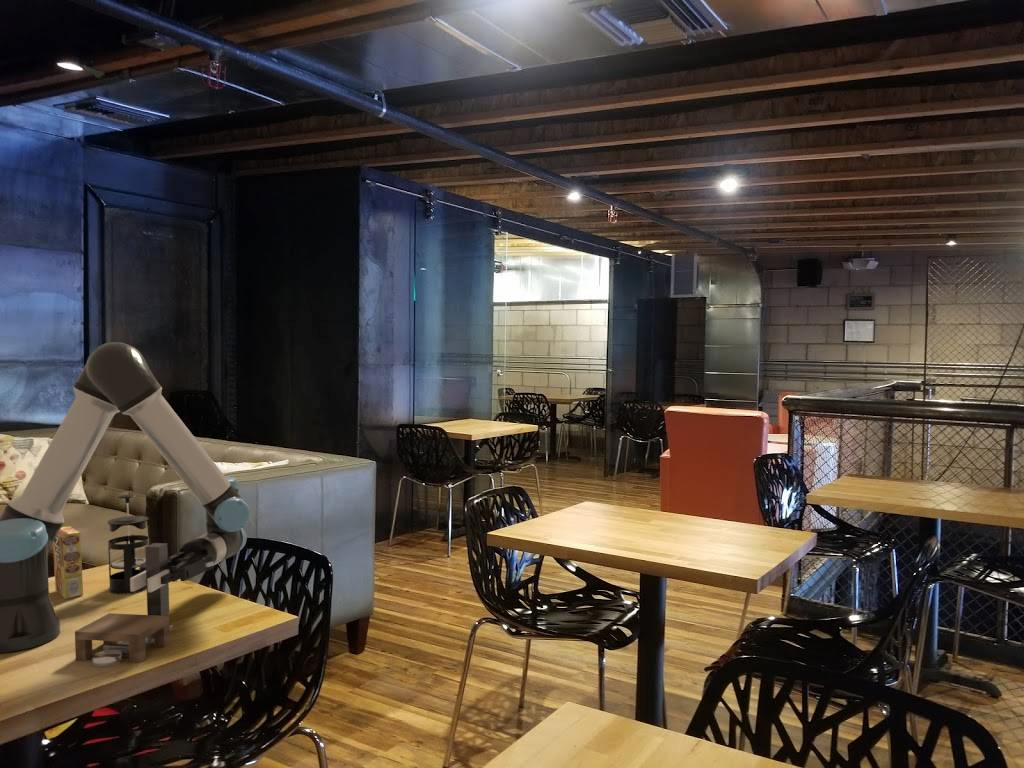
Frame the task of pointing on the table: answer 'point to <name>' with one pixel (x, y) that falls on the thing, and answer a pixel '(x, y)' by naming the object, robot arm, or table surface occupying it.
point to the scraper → (155, 599)
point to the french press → (126, 551)
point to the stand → (123, 634)
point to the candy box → (68, 563)
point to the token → (107, 658)
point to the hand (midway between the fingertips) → (140, 585)
